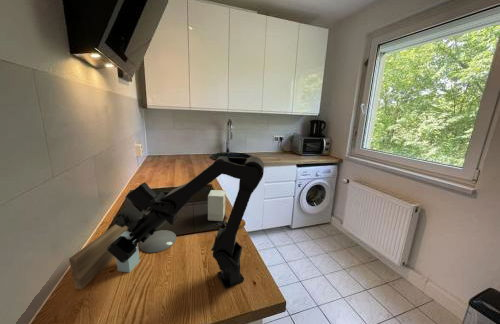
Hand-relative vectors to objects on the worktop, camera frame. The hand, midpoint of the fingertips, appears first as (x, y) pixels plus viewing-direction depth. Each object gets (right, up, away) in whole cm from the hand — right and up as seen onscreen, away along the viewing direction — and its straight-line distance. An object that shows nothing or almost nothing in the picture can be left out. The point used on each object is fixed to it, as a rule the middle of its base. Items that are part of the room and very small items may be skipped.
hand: (122, 248), depth 64 cm
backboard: (-7, -6, +2) cm, 9 cm away
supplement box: (+24, +1, +34) cm, 42 cm away
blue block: (+1, -6, +2) cm, 7 cm away
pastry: (+33, -2, +27) cm, 43 cm away
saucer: (+5, -3, +14) cm, 15 cm away
